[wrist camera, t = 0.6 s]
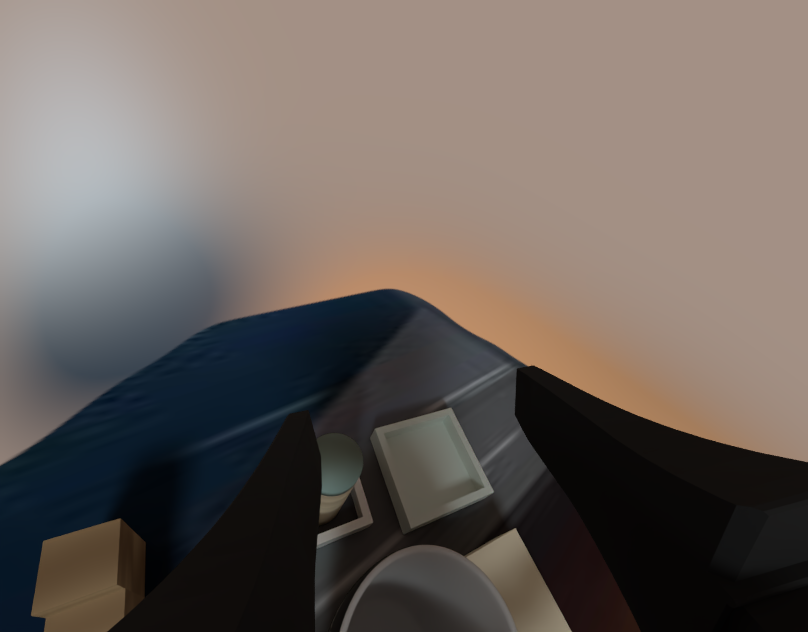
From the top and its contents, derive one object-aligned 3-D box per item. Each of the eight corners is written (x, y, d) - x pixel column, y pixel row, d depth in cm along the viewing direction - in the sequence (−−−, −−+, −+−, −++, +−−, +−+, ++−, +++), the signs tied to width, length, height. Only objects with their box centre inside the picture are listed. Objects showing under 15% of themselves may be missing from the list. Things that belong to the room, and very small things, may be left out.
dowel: (347, 515, 27) (371, 480, 22) (300, 533, 26) (312, 501, 20) (335, 469, 29) (353, 426, 24) (290, 483, 27) (298, 441, 22)
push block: (545, 642, 26) (576, 641, 23) (483, 695, 23) (511, 701, 20) (493, 538, 29) (515, 528, 27) (433, 573, 27) (452, 565, 24)
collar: (368, 527, 27) (373, 522, 26) (284, 561, 24) (286, 557, 23) (345, 450, 30) (348, 442, 29) (269, 472, 28) (270, 465, 27)
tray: (483, 499, 31) (494, 492, 30) (403, 534, 27) (411, 528, 26) (443, 417, 36) (451, 407, 34) (369, 438, 32) (375, 428, 30)
